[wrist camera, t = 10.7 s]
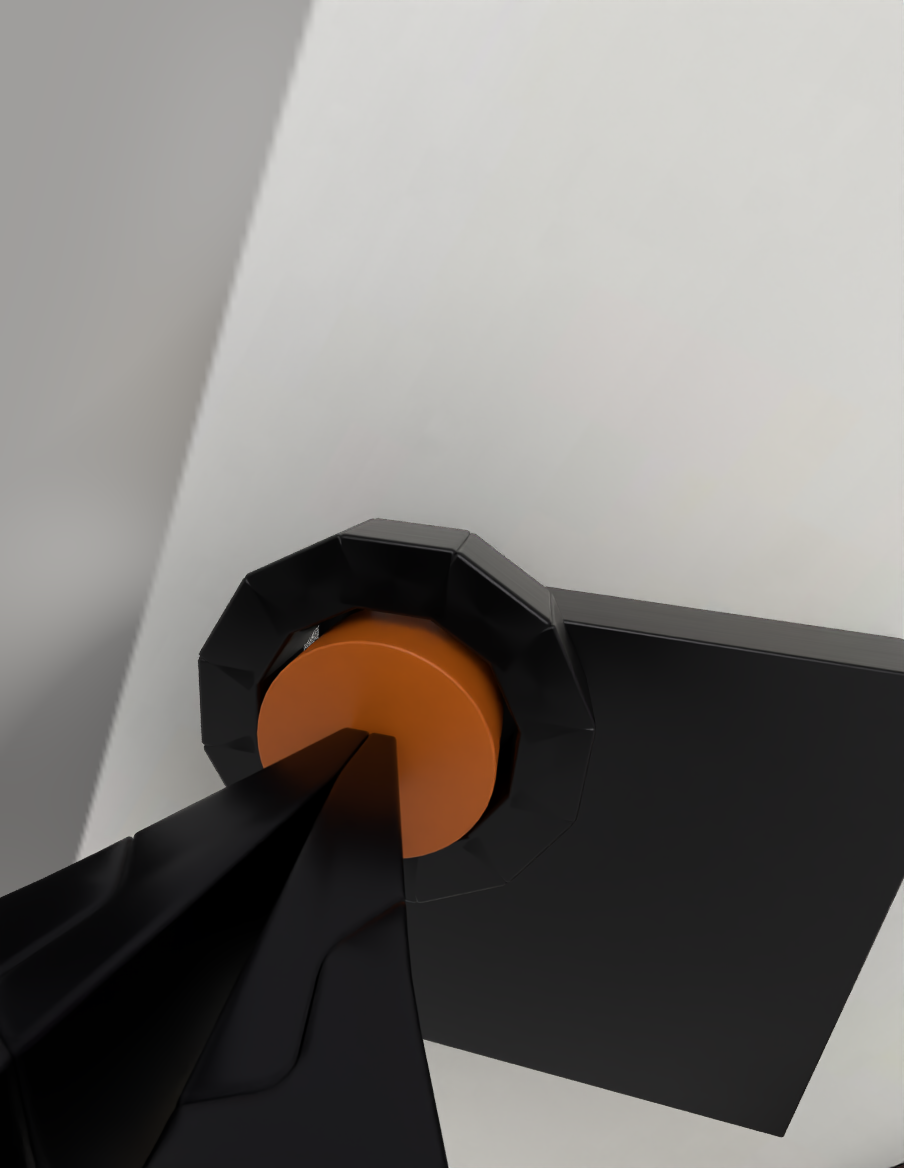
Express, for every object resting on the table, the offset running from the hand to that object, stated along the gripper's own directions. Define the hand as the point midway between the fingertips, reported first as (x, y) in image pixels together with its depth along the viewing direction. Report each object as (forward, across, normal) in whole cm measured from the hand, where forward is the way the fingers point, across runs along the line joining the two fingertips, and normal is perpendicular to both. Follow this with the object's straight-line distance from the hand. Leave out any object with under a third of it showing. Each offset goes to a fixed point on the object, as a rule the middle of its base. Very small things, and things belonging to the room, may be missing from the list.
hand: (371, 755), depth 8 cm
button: (+2, 0, 0) cm, 2 cm away
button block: (+5, -3, +3) cm, 7 cm away
